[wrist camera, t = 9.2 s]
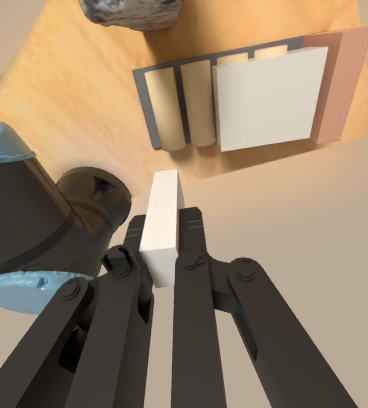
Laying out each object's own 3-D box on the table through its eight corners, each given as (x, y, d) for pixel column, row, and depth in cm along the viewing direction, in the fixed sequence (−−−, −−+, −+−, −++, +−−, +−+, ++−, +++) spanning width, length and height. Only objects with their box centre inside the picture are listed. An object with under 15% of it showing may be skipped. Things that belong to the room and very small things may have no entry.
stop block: (288, 124, 35) (316, 144, 28) (301, 35, 28) (343, 31, 21) (307, 121, 35) (339, 140, 28) (324, 31, 28) (374, 25, 21)
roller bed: (153, 147, 37) (150, 158, 34) (132, 70, 30) (126, 73, 26) (307, 121, 35) (321, 130, 31) (324, 31, 28) (346, 28, 24)
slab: (217, 141, 32) (221, 151, 29) (212, 65, 26) (216, 68, 23) (296, 128, 31) (309, 137, 28) (309, 46, 25) (328, 46, 22)
